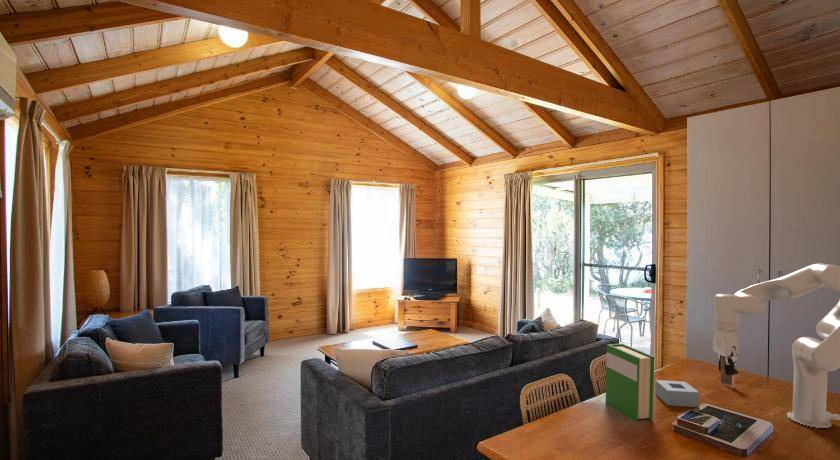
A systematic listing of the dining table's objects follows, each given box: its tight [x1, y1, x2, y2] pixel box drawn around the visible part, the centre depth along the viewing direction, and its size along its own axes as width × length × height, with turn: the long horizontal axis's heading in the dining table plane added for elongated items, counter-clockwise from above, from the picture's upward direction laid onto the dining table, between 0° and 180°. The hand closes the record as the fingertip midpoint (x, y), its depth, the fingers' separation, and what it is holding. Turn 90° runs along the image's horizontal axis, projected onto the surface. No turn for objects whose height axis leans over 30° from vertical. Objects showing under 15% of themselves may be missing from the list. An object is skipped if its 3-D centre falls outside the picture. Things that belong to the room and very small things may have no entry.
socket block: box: [654, 379, 700, 408], centre depth 186 cm, size 12×12×6 cm
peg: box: [720, 355, 732, 386], centre depth 174 cm, size 4×4×12 cm
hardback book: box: [605, 343, 655, 423], centre depth 175 cm, size 18×7×24 cm, turn 13°
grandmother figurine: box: [723, 362, 740, 389], centre depth 202 cm, size 8×4×13 cm, turn 25°
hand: (726, 372), depth 174 cm, fingers closed on peg, 3 cm apart
